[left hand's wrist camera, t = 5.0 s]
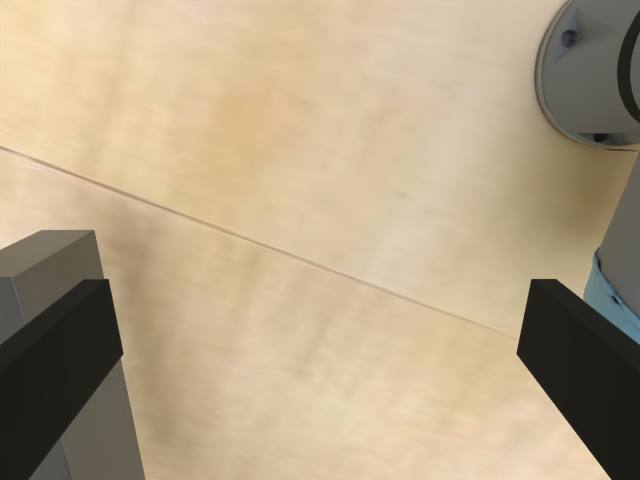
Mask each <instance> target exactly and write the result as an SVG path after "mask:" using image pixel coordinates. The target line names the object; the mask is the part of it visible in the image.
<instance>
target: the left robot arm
mask: <svg viewBox="0 0 640 480" xmlns="http://www.w3.org/2000/svg"><path fill="white" fill-rule="evenodd" d="M535 84H536V92H537V97H538V101H539V104H540V107H541V109H542V111H543V113H544V115H545V117H546V118H547V120H548V121H549V122H550V124H551V125H552V126H553V127H554V128H555V129H556V130H557V131H559V132H560V133H561V134H562V135H564V136H566V137H567V138H569V139H571V140H573V141H576V142H579V143H583V144H588V145H593V146H600V147H617V146H627V145H633V144H637V143H640V0H568V1H567V2H566V3H565V5H564V6H563V7H562V8H561V9H560V11H559V12H558V13H557V15H556V16H555V18H554V19H553V21H552V22H551V24H550V26H549V28H548V30H547V32H546V34H545V36H544V38H543V41H542V44H541V46H540V50H539V53H538V57H537V63H536V71H535ZM606 150H613V151H635V150H622V149H606ZM122 355H123V349H122V344H121V339H120V334H119V329H118V324H117V319H116V314H115V309H114V304H113V299H112V294H111V289H110V284H109V279H83V280H82V281H81V282H80V283H78V284H77V285H76V286H74V287H73V288H72V289H71V290H69V291H68V292H67V293H66V294H64V295H63V296H62V297H60V298H59V299H58V300H57V301H55V302H54V303H53V304H52V305H50V306H49V307H48V308H46V309H45V310H44V311H43V312H41V313H40V314H39V315H38V316H36V317H35V318H34V319H32V320H31V321H30V322H29V323H27V324H26V325H25V326H23V327H22V328H21V329H20V330H18V331H17V332H16V333H15V334H13V335H12V336H11V337H9V338H8V339H7V340H6V341H4V342H3V343H2V344H1V345H0V480H29V478H30V477H31V476H32V474H33V473H34V472H35V470H36V469H37V468H38V466H39V465H40V464H41V462H42V461H43V460H44V458H45V457H46V456H47V455H48V453H49V452H50V451H51V449H52V448H53V447H54V445H55V444H56V443H57V441H58V440H59V439H60V437H61V436H62V435H63V433H64V432H65V431H66V429H67V428H68V427H69V425H70V424H71V423H72V421H73V420H74V419H75V417H76V416H77V415H78V413H79V412H80V411H81V410H82V408H83V407H84V406H85V404H86V403H87V402H88V400H89V399H90V398H91V396H92V395H93V394H94V392H95V391H96V390H97V388H98V387H99V386H100V384H101V383H102V382H103V380H104V379H105V378H106V376H107V375H108V374H109V372H110V371H111V370H112V368H113V367H114V366H115V365H116V363H117V362H118V361H119V359H120V358H121V357H122ZM517 355H518V357H519V358H520V359H521V361H522V362H523V363H524V365H525V366H526V367H527V368H528V370H529V371H530V372H531V374H532V375H533V376H534V378H535V379H536V380H537V382H538V383H539V384H540V386H541V387H542V388H543V390H544V391H545V392H546V394H547V395H548V396H549V398H550V399H551V400H552V402H553V403H554V404H555V406H556V407H557V408H558V410H559V411H560V412H561V413H562V415H563V416H564V417H565V419H566V420H567V421H568V423H569V424H570V425H571V427H572V428H573V429H574V431H575V432H576V433H577V435H578V436H579V437H580V439H581V440H582V441H583V443H584V444H585V445H586V447H587V448H588V449H589V451H590V452H591V453H592V455H593V456H594V457H595V458H596V460H597V461H598V462H599V464H600V465H601V466H602V468H603V469H604V470H605V472H606V473H607V474H608V476H609V477H610V478H611V480H640V154H639V155H638V157H637V159H636V162H635V164H634V167H633V169H632V172H631V174H630V177H629V179H628V181H627V184H626V186H625V189H624V191H623V194H622V196H621V198H620V201H619V203H618V206H617V208H616V211H615V213H614V216H613V218H612V220H611V223H610V225H609V227H608V229H607V232H606V234H605V236H604V238H603V241H602V243H601V245H600V247H598V248H597V250H596V252H595V254H594V255H593V267H592V270H591V273H590V276H589V279H588V282H587V285H586V287H585V291H584V297H583V300H582V299H581V298H580V297H578V296H577V295H576V294H574V293H573V292H572V291H571V290H569V289H568V288H567V287H566V286H564V285H563V284H562V283H560V282H559V281H558V280H557V279H531V284H530V289H529V294H528V299H527V304H526V309H525V314H524V319H523V324H522V329H521V334H520V339H519V344H518V349H517Z"/></svg>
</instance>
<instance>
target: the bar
mask: <svg viewBox="0 0 640 480" xmlns="http://www.w3.org/2000/svg"><path fill="white" fill-rule="evenodd" d="M83 279H104V275H103V270H102V265H101V261H100V256H99V251H98V246H97V241H96V236H95V231H94V230H41V231H39V232H37V233H35V234H33V235H31V236H28V237H26V238H24V239H22V240H20V241H18V242H16V243H14V244H12V245H10V246H7V247H5V248H3V249H1V250H0V345H1V344H2V343H3V342H4V341H6V340H7V339H8V338H9V337H11V336H12V335H13V334H15V333H16V332H17V331H18V330H20V329H21V328H22V327H23V326H25V325H26V324H27V323H29V322H30V321H31V320H32V319H34V318H35V317H36V316H38V315H39V314H40V313H41V312H43V311H44V310H45V309H46V308H48V307H49V306H50V305H52V304H53V303H54V302H55V301H57V300H58V299H59V298H60V297H62V296H63V295H64V294H66V293H67V292H68V291H69V290H71V289H72V288H73V287H74V286H76V285H77V284H78V283H80V282H81V281H82V280H83ZM29 480H145V475H144V471H143V466H142V461H141V456H140V451H139V446H138V441H137V436H136V431H135V427H134V422H133V417H132V412H131V407H130V402H129V397H128V392H127V388H126V383H125V378H124V373H123V368H122V363H121V358H120V359H119V361H118V362H117V363H116V365H115V366H114V367H113V368H112V370H111V371H110V372H109V374H108V375H107V376H106V378H105V379H104V380H103V382H102V383H101V384H100V386H99V387H98V388H97V390H96V391H95V392H94V394H93V395H92V396H91V398H90V399H89V400H88V402H87V403H86V404H85V406H84V407H83V408H82V410H81V411H80V412H79V413H78V415H77V416H76V417H75V419H74V420H73V421H72V423H71V424H70V425H69V427H68V428H67V429H66V431H65V432H64V433H63V435H62V436H61V437H60V439H59V440H58V441H57V443H56V444H55V445H54V447H53V448H52V449H51V451H50V452H49V453H48V455H47V456H46V457H45V458H44V460H43V461H42V462H41V464H40V465H39V466H38V468H37V469H36V470H35V472H34V473H33V474H32V476H31V477H30V478H29Z"/></svg>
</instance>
